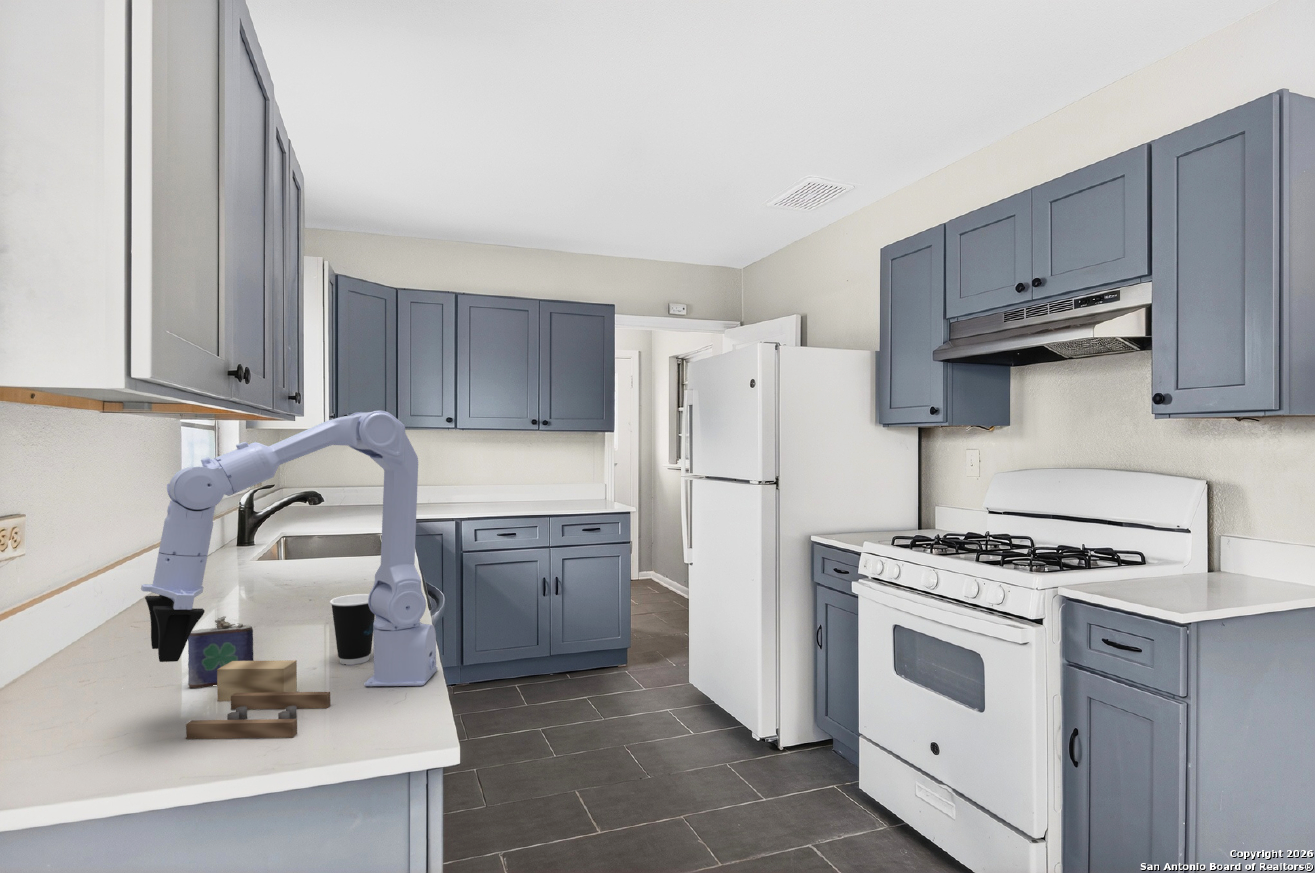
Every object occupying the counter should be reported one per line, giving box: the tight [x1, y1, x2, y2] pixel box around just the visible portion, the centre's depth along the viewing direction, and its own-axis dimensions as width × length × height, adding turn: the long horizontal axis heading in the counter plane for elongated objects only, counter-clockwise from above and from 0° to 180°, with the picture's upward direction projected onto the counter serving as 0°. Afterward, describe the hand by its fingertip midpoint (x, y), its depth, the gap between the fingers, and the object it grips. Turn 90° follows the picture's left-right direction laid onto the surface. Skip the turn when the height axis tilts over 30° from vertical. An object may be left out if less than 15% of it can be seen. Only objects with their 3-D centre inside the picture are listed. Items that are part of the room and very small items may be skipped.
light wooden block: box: [216, 659, 298, 702], centre depth 111 cm, size 10×4×5 cm, turn 91°
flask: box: [187, 615, 255, 689], centre depth 117 cm, size 9×3×11 cm, turn 109°
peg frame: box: [185, 691, 331, 740], centre depth 101 cm, size 14×11×2 cm
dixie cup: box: [329, 593, 375, 666], centre depth 128 cm, size 8×8×11 cm
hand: (164, 654), depth 98 cm, fingers open, 7 cm apart
